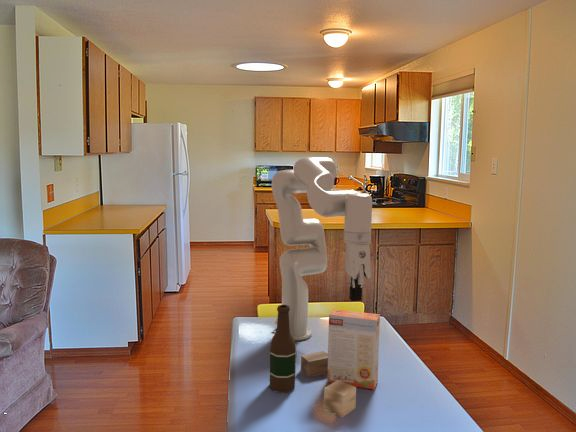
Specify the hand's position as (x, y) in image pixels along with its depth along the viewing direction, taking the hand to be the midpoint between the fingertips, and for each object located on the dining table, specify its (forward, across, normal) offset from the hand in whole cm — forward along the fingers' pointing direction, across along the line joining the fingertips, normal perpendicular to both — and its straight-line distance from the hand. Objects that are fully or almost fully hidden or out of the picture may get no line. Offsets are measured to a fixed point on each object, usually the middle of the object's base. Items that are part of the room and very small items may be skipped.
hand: (355, 300), depth 143 cm
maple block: (+25, -14, +8) cm, 30 cm away
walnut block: (+25, +8, +9) cm, 28 cm away
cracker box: (+25, 0, 0) cm, 25 cm away
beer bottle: (+25, 0, +21) cm, 33 cm away
